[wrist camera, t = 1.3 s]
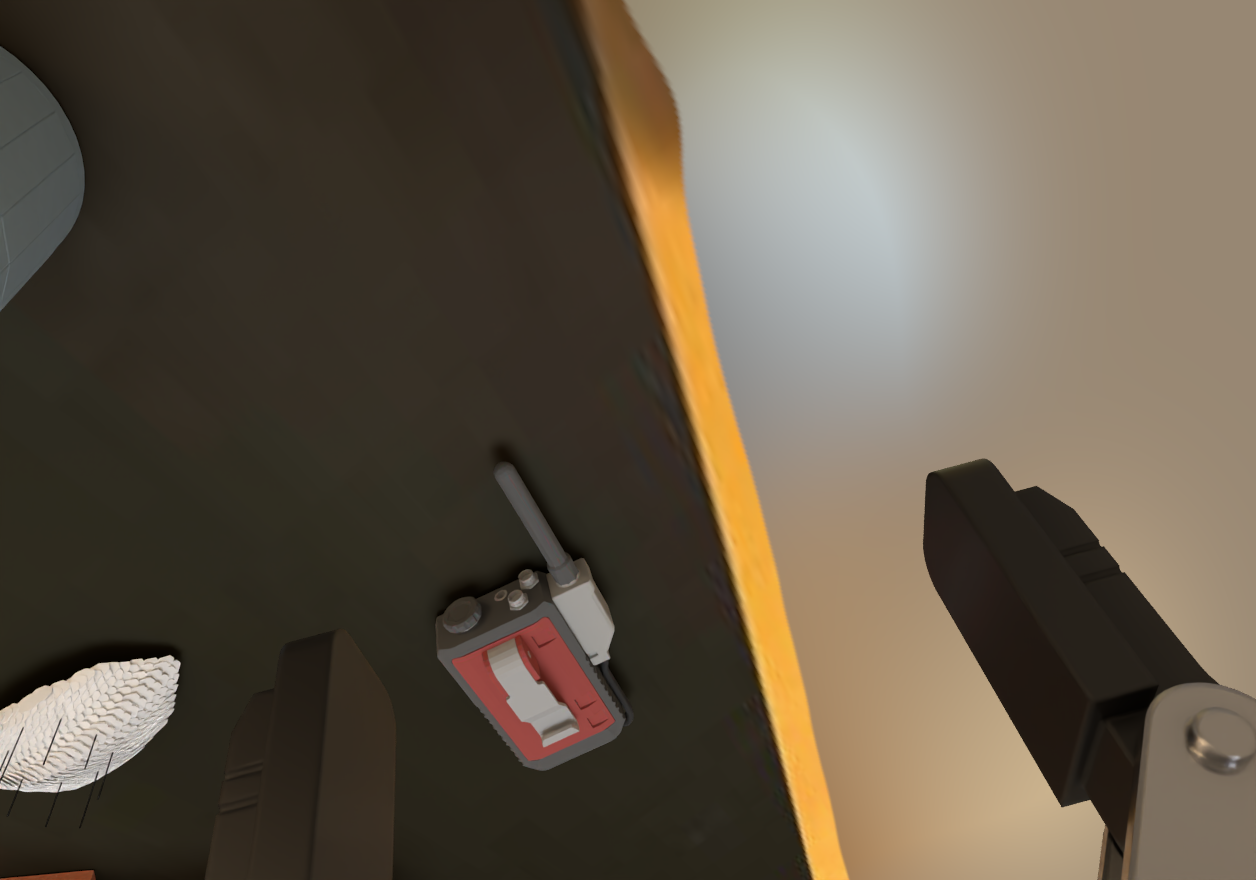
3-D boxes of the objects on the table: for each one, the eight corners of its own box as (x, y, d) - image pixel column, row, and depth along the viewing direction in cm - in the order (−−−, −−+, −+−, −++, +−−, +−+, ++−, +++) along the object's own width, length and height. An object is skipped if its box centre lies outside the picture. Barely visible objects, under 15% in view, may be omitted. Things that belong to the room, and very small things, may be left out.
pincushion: (130, 614, 42) (99, 705, 38) (222, 683, 46) (203, 774, 41) (-69, 734, 43) (-125, 838, 39) (35, 792, 47) (-4, 894, 42)
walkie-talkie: (659, 686, 53) (517, 439, 42) (679, 745, 50) (530, 491, 38) (527, 747, 53) (350, 516, 42) (537, 810, 50) (347, 576, 39)
